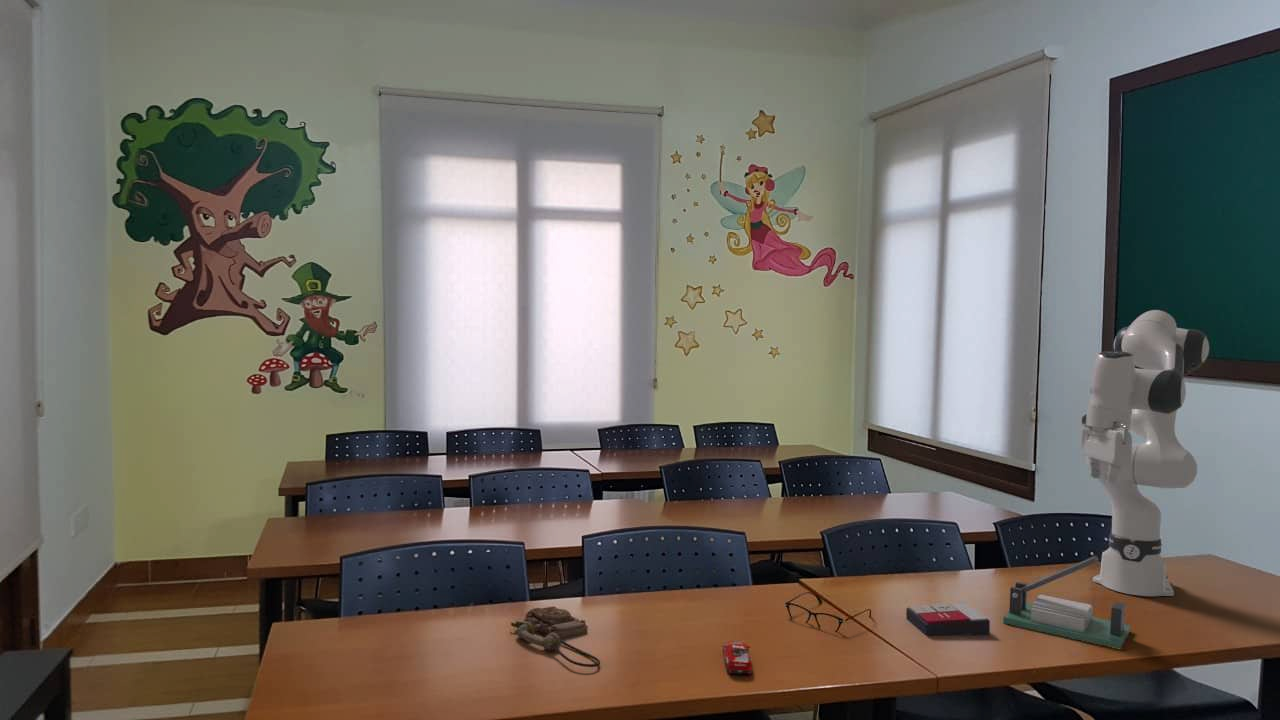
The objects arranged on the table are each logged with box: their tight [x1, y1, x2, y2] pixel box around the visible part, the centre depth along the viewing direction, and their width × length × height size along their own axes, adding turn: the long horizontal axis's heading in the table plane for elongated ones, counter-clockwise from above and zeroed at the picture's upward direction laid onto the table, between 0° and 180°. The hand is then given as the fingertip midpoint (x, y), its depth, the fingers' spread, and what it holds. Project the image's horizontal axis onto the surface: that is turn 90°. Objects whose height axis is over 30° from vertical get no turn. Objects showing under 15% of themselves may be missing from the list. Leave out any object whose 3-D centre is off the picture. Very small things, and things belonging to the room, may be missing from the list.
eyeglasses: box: [784, 592, 872, 633], centre depth 199 cm, size 16×16×4 cm
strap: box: [1021, 555, 1100, 594], centre depth 196 cm, size 3×20×1 cm
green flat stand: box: [1002, 581, 1131, 649], centre depth 195 cm, size 14×24×8 cm, turn 53°
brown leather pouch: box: [510, 606, 601, 668], centre depth 180 cm, size 15×33×4 cm, turn 37°
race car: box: [722, 641, 753, 675], centre depth 171 cm, size 13×5×4 cm, turn 177°
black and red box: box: [905, 603, 991, 637], centre depth 194 cm, size 11×4×15 cm
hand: (1102, 480), depth 195 cm, fingers open, 8 cm apart
